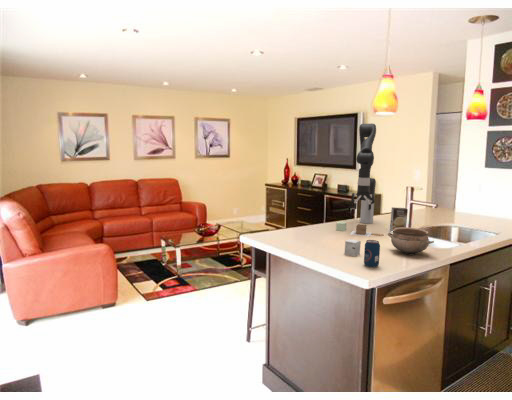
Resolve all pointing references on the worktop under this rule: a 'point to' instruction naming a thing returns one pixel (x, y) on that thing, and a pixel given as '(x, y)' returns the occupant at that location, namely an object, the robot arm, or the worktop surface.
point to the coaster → (377, 234)
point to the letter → (359, 234)
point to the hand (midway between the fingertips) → (362, 209)
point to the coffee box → (398, 218)
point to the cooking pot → (410, 240)
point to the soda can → (371, 253)
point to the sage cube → (341, 226)
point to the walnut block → (361, 229)
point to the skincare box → (352, 247)
